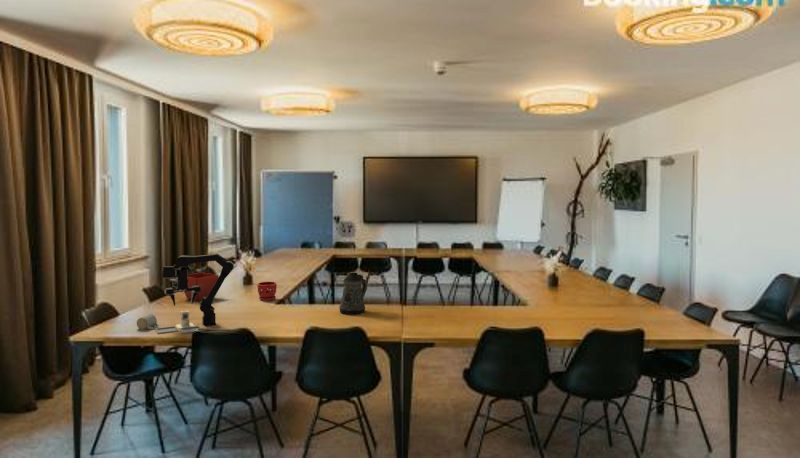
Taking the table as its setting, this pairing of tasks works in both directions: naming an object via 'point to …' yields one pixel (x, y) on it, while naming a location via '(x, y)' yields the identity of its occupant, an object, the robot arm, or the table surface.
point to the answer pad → (184, 326)
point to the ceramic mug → (147, 322)
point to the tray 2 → (189, 329)
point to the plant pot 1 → (201, 284)
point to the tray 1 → (166, 330)
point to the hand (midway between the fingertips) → (183, 304)
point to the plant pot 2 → (267, 290)
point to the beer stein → (353, 295)
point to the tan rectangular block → (184, 318)
